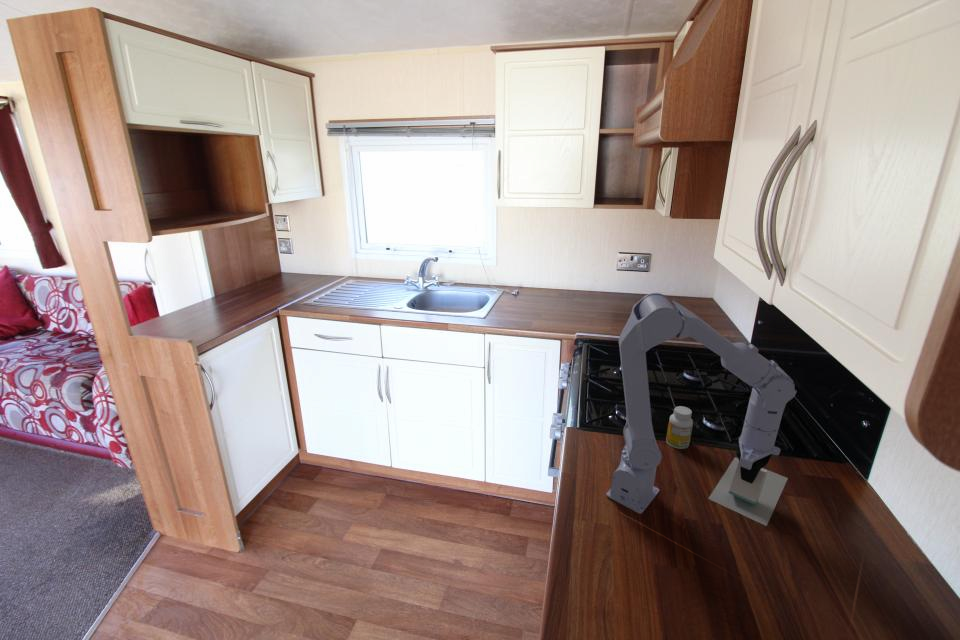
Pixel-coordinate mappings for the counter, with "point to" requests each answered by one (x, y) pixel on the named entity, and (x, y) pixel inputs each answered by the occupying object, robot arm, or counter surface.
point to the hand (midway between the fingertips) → (747, 479)
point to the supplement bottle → (680, 428)
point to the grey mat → (755, 512)
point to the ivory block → (747, 486)
